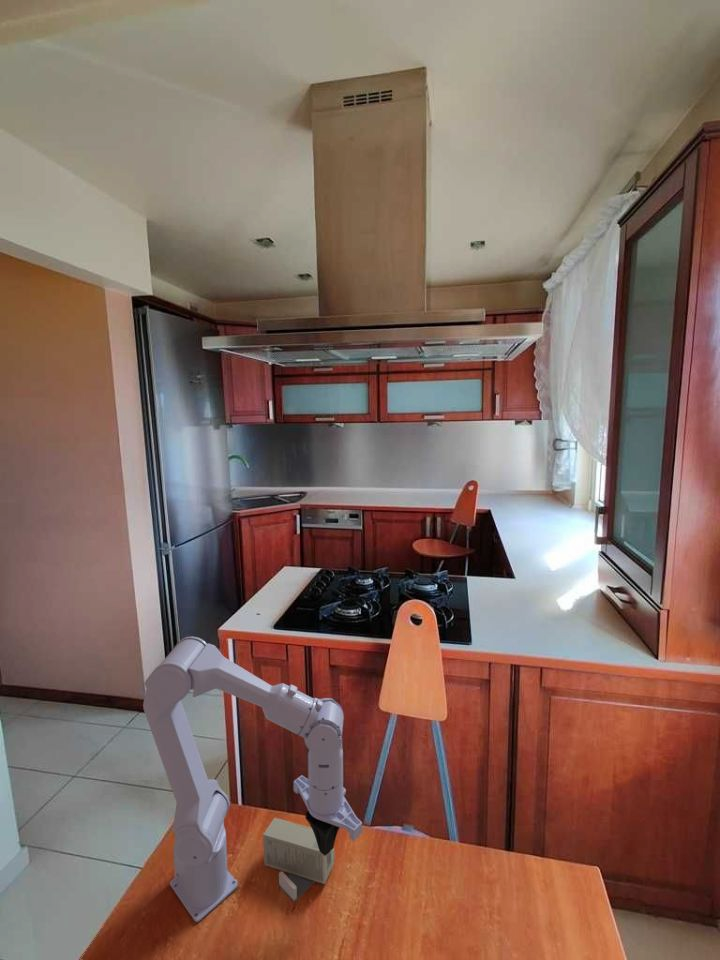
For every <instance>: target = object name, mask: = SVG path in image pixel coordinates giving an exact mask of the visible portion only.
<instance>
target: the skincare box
mask: <svg viewBox="0 0 720 960" xmlns="http://www.w3.org/2000/svg"><path fill="white" fill-rule="evenodd" d="M262 840H263V842H262V843H263V857H264V859H263V860H264V866H266V867H270V868H273V869H276V870H279V871H282V872H285V873H288V874H294V875H297V876H301V877H304V878H307V879H310V880H313V881H315V883H316V882H317V883H320V884H323V885H325V884H327V883H326V882H327V880H328V878H329V876H330V874H331V871H332V869H333V866H335V865H334V864H335V862H334V850H335V848H334V849H332V850H331V851H330V852H329V853H328V854H327V855H326V856H324V855H323V854H322V853H321V852H320V851H319V848H318V844H317V841H316V838H315V835H314V832H313V830H312V828H311V826H307V825H303V824H300V823H296V822H292V821H289V820H285V819H281V818H278V817H274V818H273V819H272V821H271V822H270V824H269V825H268V827H267V828H266V830H264V833H263V834H262Z"/></svg>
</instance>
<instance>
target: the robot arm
mask: <svg viewBox="0 0 720 960" xmlns="http://www.w3.org/2000/svg"><path fill="white" fill-rule="evenodd" d="M144 685H145V694H144V699H143V703H142V706H143V711H144V715H145V717H146V720H147V722H148V726H149V729H150V732H151V734H152V737H153V741H154V742H155V746H156V748H157V751H158V754H159V756H160V759H161V762H162V765H163V768H164V771H165V773H166V776H167V779H168V782H169V785H170V788H171V791H172V793H173V795H174V796H173V797H174V799H175V802H176V803H175V804H176V805H175V812H174V817H173V823H172V832H173V835H174V843H173V864H174V877H173V878H172V879H171V880H170V881H169V885H170V887H171V888H172V890H173V891H174V894H176V897H178V899H179V900H180V902H181V903H182V905H183V907H185V909H186V910H187V912H188V913H189V916H190V917H192V920H193V921H194V922H195V923H199V922H200V921H201V920H203V919H204V918H205V916H207V915H208V914H209V913H211V912H212V910H214V909H215V908H216V907H217V906H219V905H220V903H222V902H223V901H224V900H225V899H227V897H228V896H230V895H231V894H232V893H233V892H234V891H236V889H238V888H239V882H238V881H237V880H236V879H235V877H234V876H233V875H232V873H231V872H230V871H229V870H228V853H227V833H226V831H227V830H226V828H225V823H224V822H225V821H224V820H225V818H226V816H227V814H228V812H229V810H230V804H231V803H230V799H229V796H228V795H227V793H226V792H224V790H222V788H221V787H220V785H219V782H218V780H217V779H214V778H213V779H211V778H208V776H207V775H208V774H207V772H206V769H205V766H204V763H203V761H202V758H201V755H200V752H199V750H198V746H197V743H196V740H195V737H194V734H193V731H192V728H191V726H190V722H189V719H188V716H187V714H186V711H185V708H184V705H183V702H182V700H183V699H185V697H187V695H188V694H189V693H190V690H193V691H192V698H196V697H198V696H201V695H204V694H206V693H208V692H210V691H214V690H219V691H222V692H224V693H226V694H228V695H231V696H233V697H236V698H238V699H241V700H243V701H245V702H247V703H250V704H254V706H255V705H256V706H257V707H260V708H262V709H261V710H262V712H263V714H264V717H265V719H266V720H267V721H270V722H272V723H273V724H275V725H278V726H279V727H282V728H284V729H286V730H288V731H289V732H292V733H293V734H296V735H298V736H299V737H300V738H301V737H302V738H303V739H304V744H305V746H306V748H307V749H308V754H307V764H308V766H307V767H308V769H307V770H308V774H307V775H308V778H307V777H305V776H304V775H302V774H301V775H300V776H298V777H297V778H296V779H294V780H293V792H294V793H295V794H300V796H301V798H302V800H303V802H304V804H305V806H306V809H307V811H306V813H305V820H306V821H307V822H308V824H309V827H311V828H312V830H313V832H314V835H315V838H316V841H317V844H318V848H319V851H320V852H321V853H322V854H323V855H324V856H326V855H327V854H328V853H329V852H330V851H331V850H332V849H333V848H334V846H335V842H336V838H337V836H338V833H339V830H340V829H344V830H346V831H347V832H348V833H349V838H350V839H351V840H352V842H355V841H356V840H357V839H358V838H359V837H360V836H361V835H362V834H363V822H362V821H361V820H360V819H359V818H358V817H357V815H356V813H355V812H354V810H353V809H352V807H351V805H350V804H349V802H348V801H347V799H346V797H345V795H346V792H347V790H346V788H345V787H344V750H343V728H344V719H345V718H344V717H345V716H344V711H343V708H342V706H341V705H340V703H338V702H337V701H335V699H333V698H332V697H331V698H330V697H324V698H323V697H322V698H317V697H312V696H309V695H308V694H305V693H304V692H302V691H301V690H300V691H299V690H298V687H297V686H296V685H293V684H290V685H288V684H285V683H284V682H282V683H278V684H276V685H275V684H274V685H271V684H269V683H267V682H266V681H265V680H263V679H261V678H260V677H258V676H257V675H255V674H254V673H251V672H249V671H248V670H246V668H245V669H244V668H243V667H242V666H240V665H238V664H236V663H235V662H234V661H232V660H230V659H228V658H227V657H225V656H224V655H223V654H222V653H221V651H220V650H219V649H218V647H217V646H216V645H214V644H212V643H207V642H206V641H205V640H204V639H202V638H201V637H198V636H192V635H191V636H186V637H183V638H182V639H180V640H179V641H178V642H177V643H176V645H175V646H174V647H173V648H172V649H171V651H170V652H169V653H168V655H167V656H166V657H165V658H164V659H163V660H162V662H161V663H160V664H158V666H156V667H154V669H153V671H151V673H150V675H148V677H147V678H146V679H145V681H144Z"/></svg>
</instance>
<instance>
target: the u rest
mask: <svg viewBox="0 0 720 960" xmlns="http://www.w3.org/2000/svg"><path fill="white" fill-rule="evenodd" d="M333 849H334V863H335V862H336V861H335V859H336V857H335V848H334V847H333ZM314 883H316V881H313V880H310V879H307V878H304V877H301V876H297V875H294V874H291V873H289V875H288V876H287V875H286V873H284V871H282V870H280V872H279V873H278V884H279V885H278V886H279V888H280V890H282V891H283V892H284V893H285V894H286V895H287V897H288V898H289V899H290V900H291V901H292V902H293V903H296V902H297V901H298V900H299V899H300V897H302V895H303V894H304V893H305V892H306V891H308V889H309V888H311V887H312V885H313V884H314Z"/></svg>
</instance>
